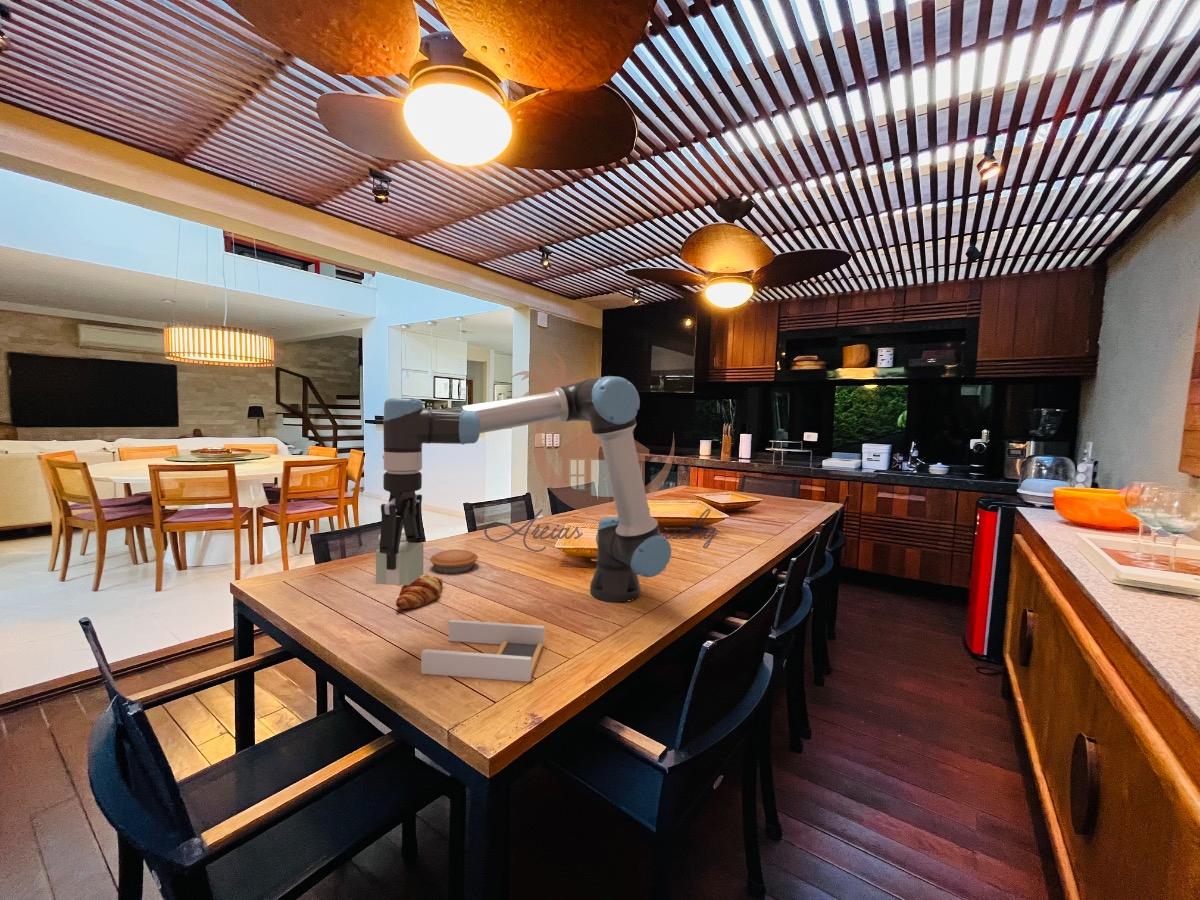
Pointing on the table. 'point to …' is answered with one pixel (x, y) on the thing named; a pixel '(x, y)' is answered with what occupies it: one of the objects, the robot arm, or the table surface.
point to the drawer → (522, 651)
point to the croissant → (419, 592)
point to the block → (402, 563)
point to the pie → (453, 560)
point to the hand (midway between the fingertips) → (402, 577)
